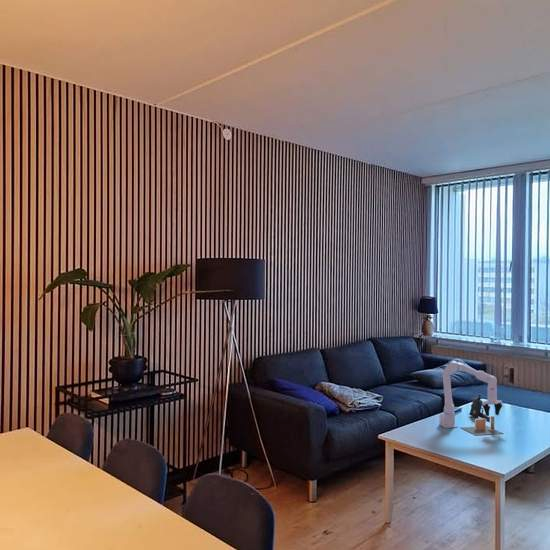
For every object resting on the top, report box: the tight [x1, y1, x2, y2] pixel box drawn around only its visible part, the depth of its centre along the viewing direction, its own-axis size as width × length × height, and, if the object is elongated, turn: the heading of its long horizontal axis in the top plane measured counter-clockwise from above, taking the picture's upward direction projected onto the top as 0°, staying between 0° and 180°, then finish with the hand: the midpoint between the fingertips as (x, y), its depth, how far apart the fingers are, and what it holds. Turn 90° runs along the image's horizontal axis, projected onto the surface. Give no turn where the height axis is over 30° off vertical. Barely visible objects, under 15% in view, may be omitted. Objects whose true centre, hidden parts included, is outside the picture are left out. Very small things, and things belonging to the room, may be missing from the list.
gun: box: [468, 394, 491, 422], centre depth 347 cm, size 3×17×15 cm
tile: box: [474, 418, 487, 430], centre depth 321 cm, size 7×2×7 cm, turn 103°
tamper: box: [488, 415, 498, 432], centre depth 318 cm, size 4×4×10 cm
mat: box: [460, 425, 504, 437], centre depth 319 cm, size 20×16×1 cm
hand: (492, 415), depth 319 cm, fingers open, 7 cm apart
